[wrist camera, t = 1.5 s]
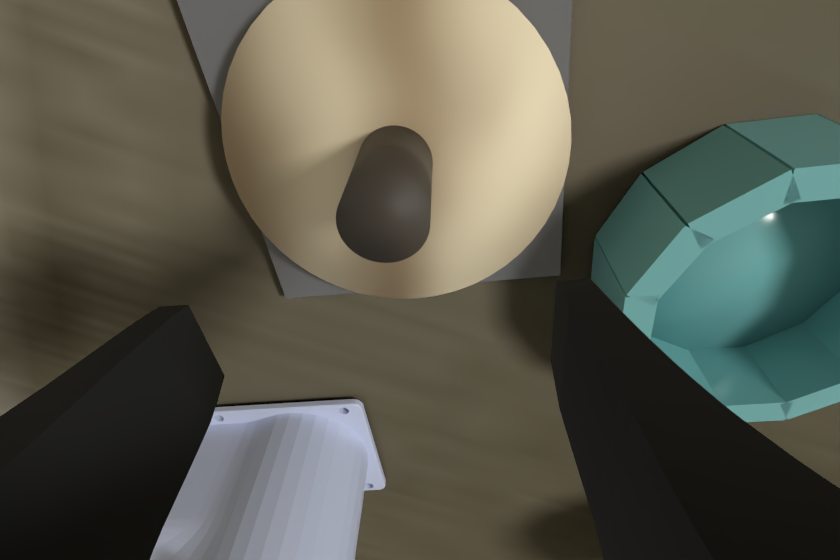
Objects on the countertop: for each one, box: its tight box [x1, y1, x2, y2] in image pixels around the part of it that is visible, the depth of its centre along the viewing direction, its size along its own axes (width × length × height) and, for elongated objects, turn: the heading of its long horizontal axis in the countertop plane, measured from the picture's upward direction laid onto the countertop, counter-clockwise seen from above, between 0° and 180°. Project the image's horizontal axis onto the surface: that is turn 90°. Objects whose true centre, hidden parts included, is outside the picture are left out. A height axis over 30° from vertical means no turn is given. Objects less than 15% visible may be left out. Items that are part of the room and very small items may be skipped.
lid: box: [221, 0, 571, 299], centre depth 15 cm, size 12×12×5 cm
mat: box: [177, 0, 572, 299], centre depth 18 cm, size 12×12×1 cm
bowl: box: [591, 114, 840, 422], centre depth 18 cm, size 11×11×4 cm
